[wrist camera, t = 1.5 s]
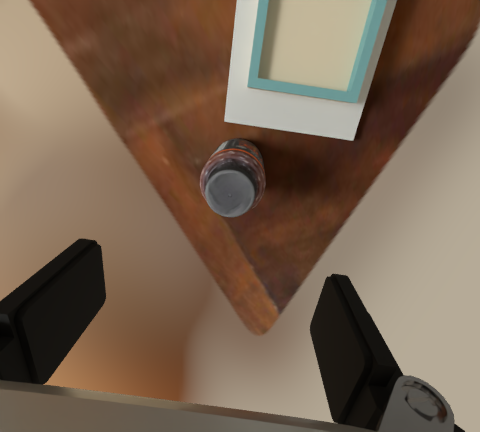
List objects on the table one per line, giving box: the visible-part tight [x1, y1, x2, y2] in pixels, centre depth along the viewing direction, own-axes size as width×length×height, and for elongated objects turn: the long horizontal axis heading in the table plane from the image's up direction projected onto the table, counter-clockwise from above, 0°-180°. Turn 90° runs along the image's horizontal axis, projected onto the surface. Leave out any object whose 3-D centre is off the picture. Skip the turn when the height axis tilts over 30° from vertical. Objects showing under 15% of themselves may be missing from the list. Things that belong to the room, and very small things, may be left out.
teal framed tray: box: [224, 0, 397, 141], centre depth 23 cm, size 17×14×4 cm
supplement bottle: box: [200, 139, 266, 217], centre depth 25 cm, size 6×6×11 cm
